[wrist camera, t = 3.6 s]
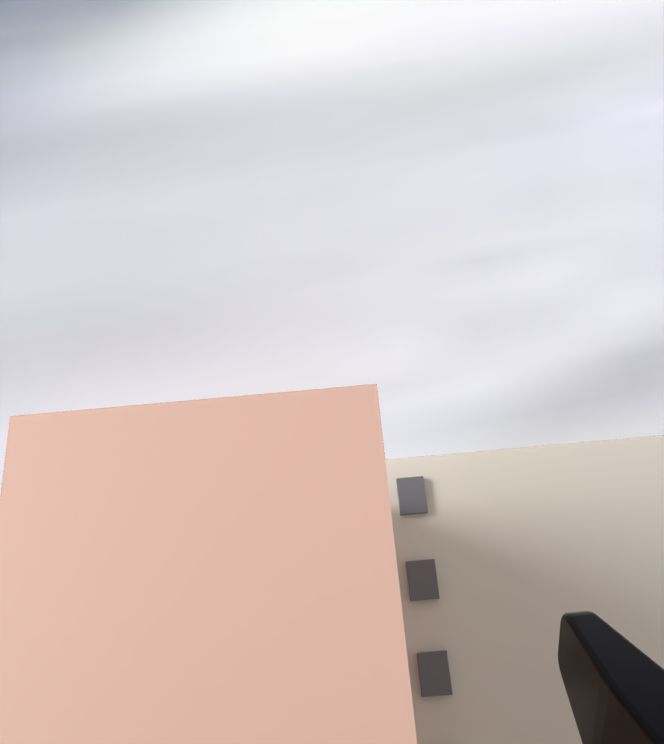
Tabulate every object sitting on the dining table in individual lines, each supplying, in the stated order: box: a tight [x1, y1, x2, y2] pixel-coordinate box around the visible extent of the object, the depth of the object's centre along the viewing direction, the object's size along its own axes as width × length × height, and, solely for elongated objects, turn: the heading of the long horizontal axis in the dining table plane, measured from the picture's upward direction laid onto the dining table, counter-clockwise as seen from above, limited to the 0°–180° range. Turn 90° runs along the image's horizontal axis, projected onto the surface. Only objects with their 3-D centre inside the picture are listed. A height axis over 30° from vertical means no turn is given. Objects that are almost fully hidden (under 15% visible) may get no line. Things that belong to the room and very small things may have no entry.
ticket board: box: [385, 435, 664, 744], centre depth 14 cm, size 9×8×3 cm
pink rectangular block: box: [0, 384, 417, 744], centre depth 10 cm, size 8×4×10 cm, turn 5°
